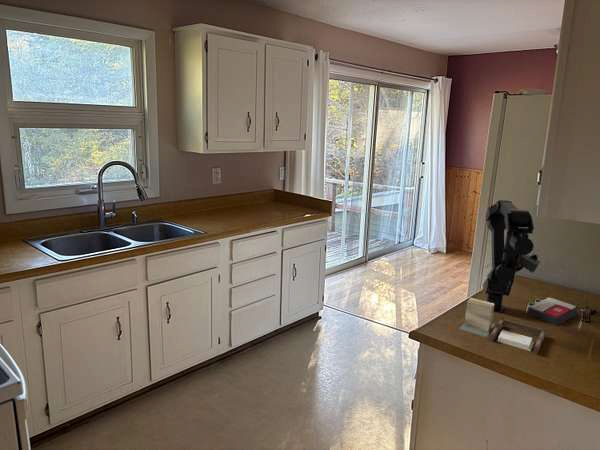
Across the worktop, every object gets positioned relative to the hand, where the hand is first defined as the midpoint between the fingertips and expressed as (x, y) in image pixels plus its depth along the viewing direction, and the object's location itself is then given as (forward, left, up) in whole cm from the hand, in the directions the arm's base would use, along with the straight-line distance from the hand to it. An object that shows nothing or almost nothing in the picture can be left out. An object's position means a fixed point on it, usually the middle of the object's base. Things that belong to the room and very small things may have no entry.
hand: (507, 289), depth 160 cm
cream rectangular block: (+10, -6, -12) cm, 17 cm away
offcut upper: (+13, +7, -12) cm, 19 cm away
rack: (+10, +7, -13) cm, 18 cm away
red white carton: (-20, +13, -14) cm, 27 cm away
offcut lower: (+13, +7, -14) cm, 20 cm away
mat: (+10, -6, -13) cm, 17 cm away
